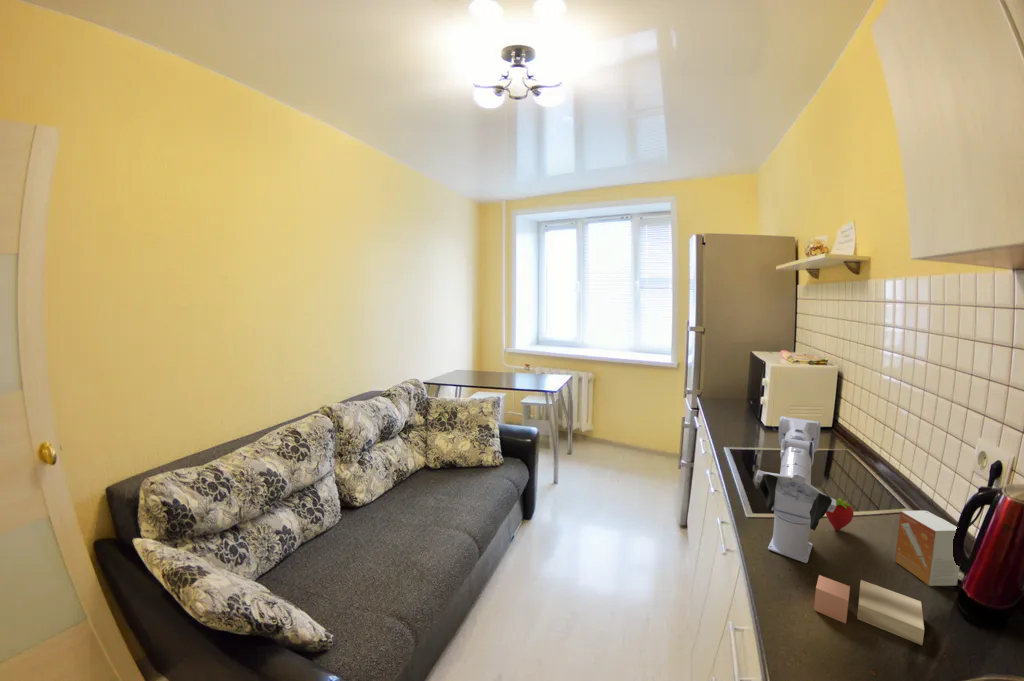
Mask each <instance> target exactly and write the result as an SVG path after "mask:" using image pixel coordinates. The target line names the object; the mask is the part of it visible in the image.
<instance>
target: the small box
mask: <svg viewBox="0 0 1024 681" xmlns="http://www.w3.org/2000/svg"><path fill="white" fill-rule="evenodd" d="M898 524H899V525H898V530H897V532H898V533H897V540H896V547H895V548H896V549H895V557H894V562H895V563H896V564H898V565H899V566H901V567H902V568H904V569H905V570H906V571H908V572H909V573H911V574H913V575H914V577H916V578H918V579H919V580H920V581H922V582H924V583H925V584H926V585H927V586H929V587H933V586H935V587H938V586H939V587H941V586H942V587H944V586H945V587H946V586H947V587H949V586H950V587H951V586H952V587H953V586H955V587H956V586H957V585H958V581H959V573H960V572H959V571H960V566H958V565H956V563H955V561H954V557H953V539H954V536H955V533H956V529H957V527H958V526H956V525H955V524H952V523H951V522H949V521H947V520H946V519H944V518H941V517H939V516H938V515H936V514H934V513H932V512H930V511H928V510H901V511H900V516H899V523H898Z"/></svg>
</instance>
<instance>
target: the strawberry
mask: <svg viewBox="0 0 1024 681" xmlns="http://www.w3.org/2000/svg"><path fill="white" fill-rule="evenodd" d="M831 498H832V497H831ZM842 498H844V496H841V498H840V497H839V498H837V499H836V498H832V499H835V500H836V508H835V510H834V511H833V512H830V511H828V510H827V512H826V513H825V515H826V517H827V519H828V522H829V523H830V524H831V526H832V527H833V529H834V530H835V531H840V530H842V529H843V528H845V527H846V526H848V525H849V524H851V522H852V520H853V518H854V516H855V515H854V509H853V508H854V506H852V505H850V504H849V503H847V502H848V501H847V500H842Z"/></svg>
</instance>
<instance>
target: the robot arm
mask: <svg viewBox="0 0 1024 681" xmlns="http://www.w3.org/2000/svg"><path fill="white" fill-rule="evenodd" d="M820 436H821V422H819V420H816V421H815V420H812V419H811V420H810V419H803V418H796V417H795V418H794V417H790V416H789V417H788V416H785V415H782V416H780V417H779V422H778V445H779V446H780V455H779V456H780V472H779V473H774V472H767V471H763V470H761V469H758V470H757V472H756V474H755V478H754V482H757V483H758V484H759V486H758V492H759V493H760V495H761V496H762V497H763V500H764V503H765V506H766V510H767V511H768V512H771V511H773V516H774V521H773V530H772V532H773V533H772V537H771V540H770V543H769V544H768V547H767V549H768V550H769V551H772V552H774V553H776V554H779V555H782V556H785V557H788V558H789V559H793V560H796V561H798V562H802V563H804V564H808V561H809V559H810V555H811V552H812V548H813V543H812V542H810V541H809V540H810V530H813V531H816V529H817V527H818V525H819V523H820V520H821V519H823V517H824V516H825V515H826V512H827V510H828V511H830V512H833V511H834V510H835V508H836V500H837V499H836V498H833V499H832V497H830V496H828V495H827V494H826V493H823V492H822V491H820V490H819V489H818V488H816V487H815V486H813V485H812V484H811V483H812V466H813V464H814V459H815V457H814V456H815V453H816V452H817V451H818V449H819V447H820V446H819V444H820V443H819V442H820ZM835 499H836V500H835Z"/></svg>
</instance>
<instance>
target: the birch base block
mask: <svg viewBox="0 0 1024 681" xmlns="http://www.w3.org/2000/svg"><path fill="white" fill-rule="evenodd" d="M856 615H857V618H856V619H857V620H858V621H862V622H864V623H867V624H869V625H872V626H873V627H877V628H879V629H881V630H884V631H886V632H889V633H891V634H893V635H896V636H898V637H901V638H902V639H905V640H907V641H909V642H913V643H915V644H918V645H920V646H923V643H924V635H925V625H924V624H925V623H924V615H923V608H922V601H921V600H918V599H915V598H913V597H910V596H907V595H904V594H901V593H899V592H896V591H893V590H890V589H887V588H884V587H882V586H879V585H877V584H874V583H871V582H868V581H865V580H863V579H860V583H859V592H858V607H857V614H856Z"/></svg>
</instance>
